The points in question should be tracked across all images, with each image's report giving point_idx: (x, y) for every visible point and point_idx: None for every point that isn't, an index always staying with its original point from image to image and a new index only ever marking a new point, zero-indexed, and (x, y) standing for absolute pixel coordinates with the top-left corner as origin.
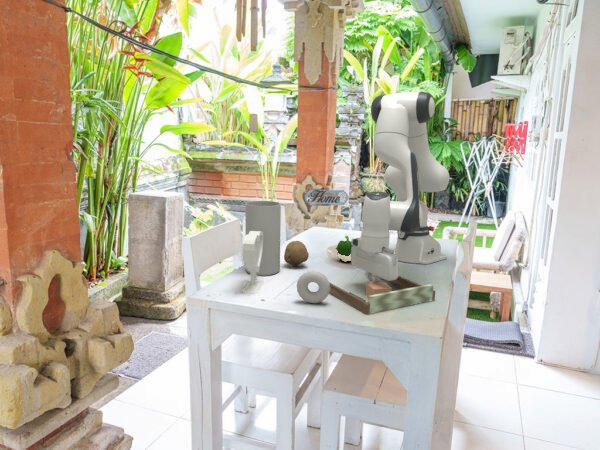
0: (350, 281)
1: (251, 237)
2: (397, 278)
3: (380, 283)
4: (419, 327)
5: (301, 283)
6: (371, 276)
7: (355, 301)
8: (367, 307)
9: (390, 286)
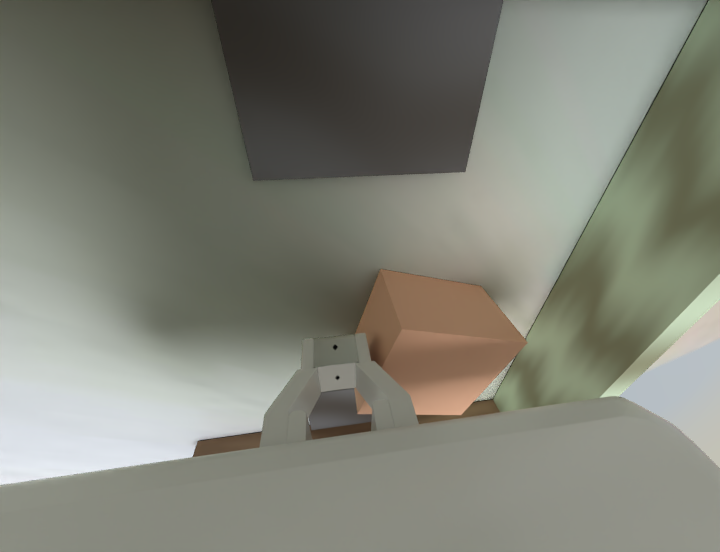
0: (69, 331)
1: None
2: None
3: (414, 361)
4: (691, 330)
5: None
6: (303, 399)
7: None
8: None
9: (276, 134)
